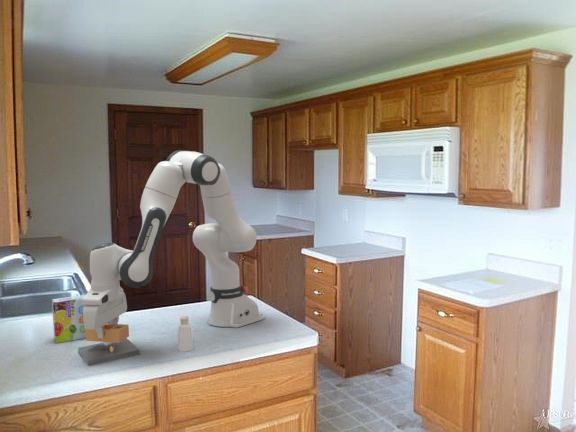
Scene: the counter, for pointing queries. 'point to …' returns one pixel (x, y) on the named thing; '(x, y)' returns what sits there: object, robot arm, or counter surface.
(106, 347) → the steel post
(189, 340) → the pepper shaker
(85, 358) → the base plate
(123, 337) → the orange block with recesses
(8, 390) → the counter surface
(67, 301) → the snack box
